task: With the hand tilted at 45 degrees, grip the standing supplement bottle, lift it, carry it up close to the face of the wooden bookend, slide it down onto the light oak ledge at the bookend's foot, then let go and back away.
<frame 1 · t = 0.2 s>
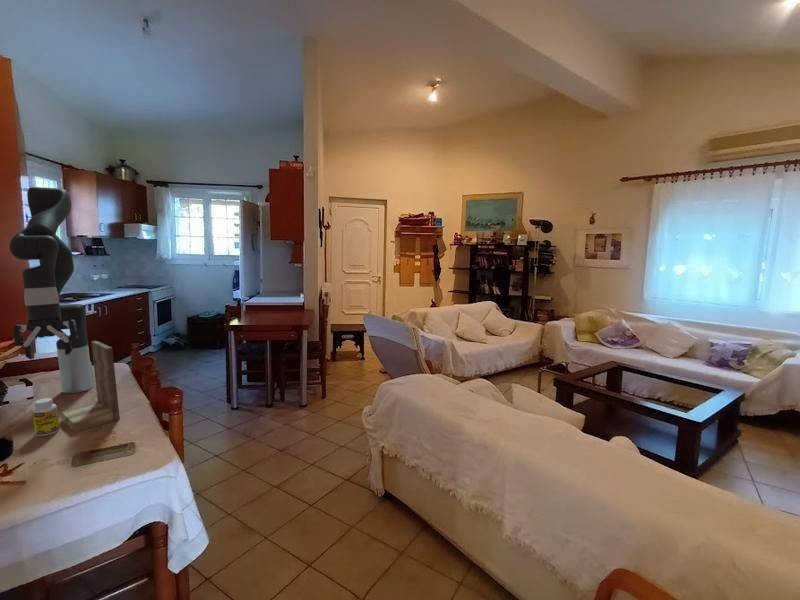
hand: (49, 356, 120), 23 cm above the table, tool pointing down, fingers open, 8 cm apart
supplement bottle: (47, 433, 120), on the table
wooden bookend: (88, 420, 128), on the table
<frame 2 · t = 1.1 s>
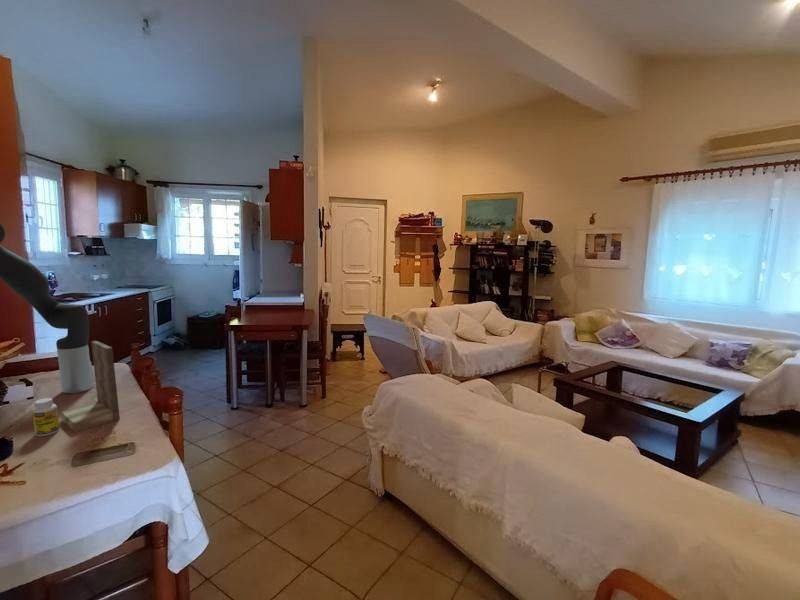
nothing on the table moved.
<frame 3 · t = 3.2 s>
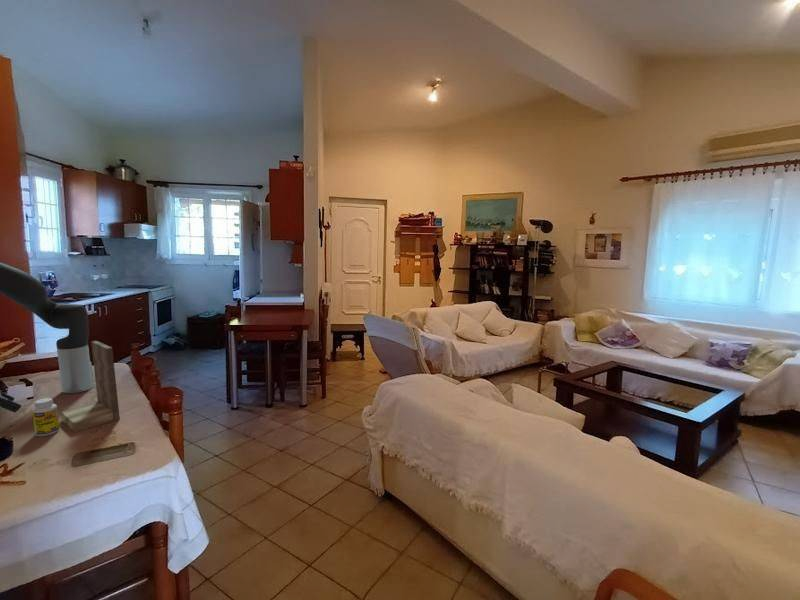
hand: (15, 405, 114), 11 cm above the table, tool tilted 45°, fingers open, 8 cm apart
nothing on the table moved.
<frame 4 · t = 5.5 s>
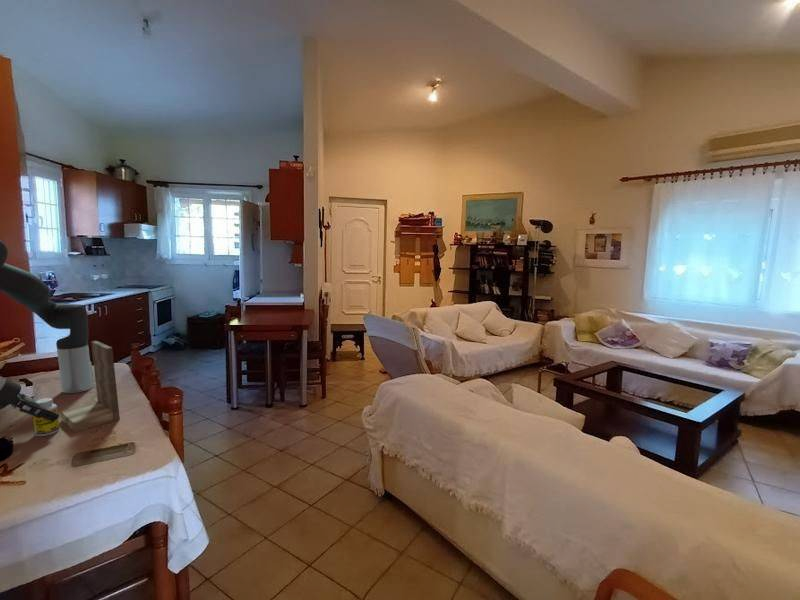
hand: (53, 415, 121), 5 cm above the table, tool tilted 45°, fingers closed on supplement bottle, 5 cm apart
supplement bottle: (47, 433, 120), on the table, touching gripper
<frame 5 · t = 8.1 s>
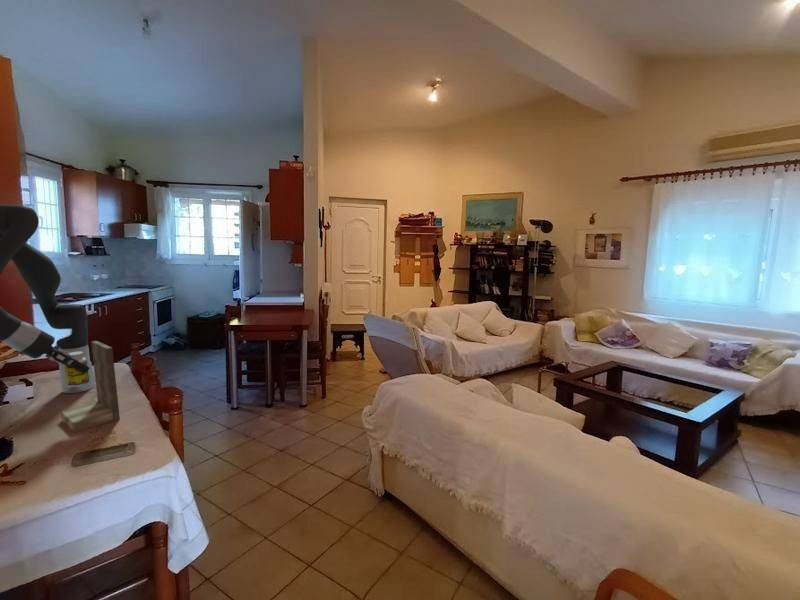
hand: (83, 368, 126), 17 cm above the table, tool tilted 45°, fingers closed on supplement bottle, 5 cm apart
supplement bottle: (78, 385, 126), point 12 cm above the table, touching gripper
when the fingers open (9 cm above the table, at t = 10.9 s): supplement bottle drops 1 cm, resting on wooden bookend.
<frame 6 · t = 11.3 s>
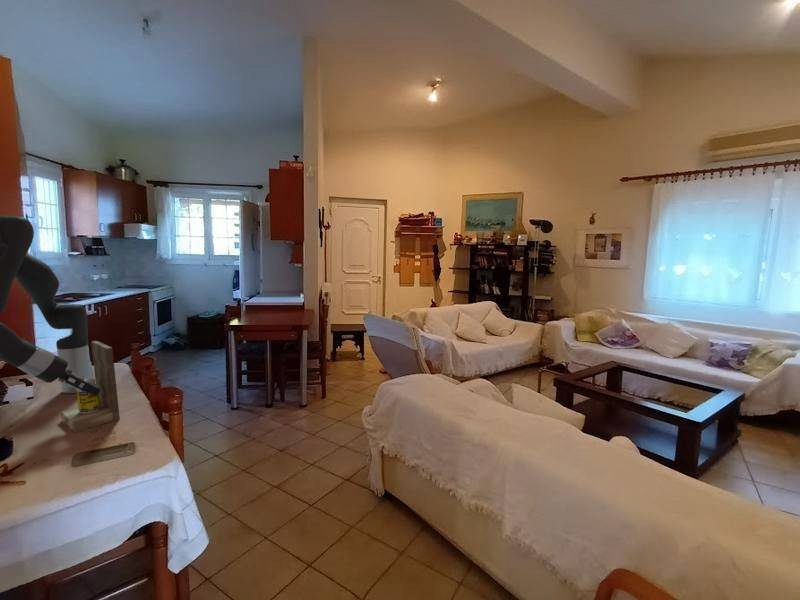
hand: (93, 389, 129), 10 cm above the table, tool tilted 45°, fingers open, 8 cm apart
supplement bottle: (89, 411, 129), point 3 cm above the table, touching wooden bookend
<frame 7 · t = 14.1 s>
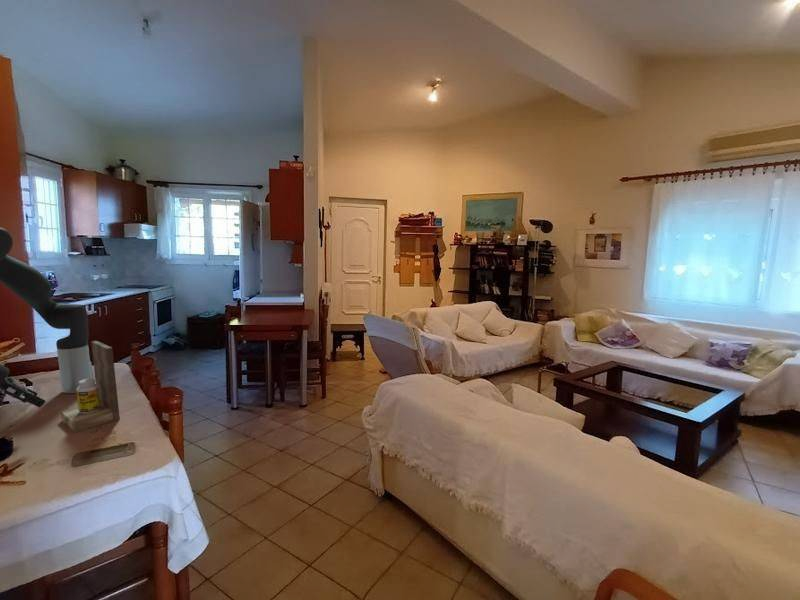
hand: (38, 400, 119), 10 cm above the table, tool tilted 45°, fingers open, 8 cm apart
nothing on the table moved.
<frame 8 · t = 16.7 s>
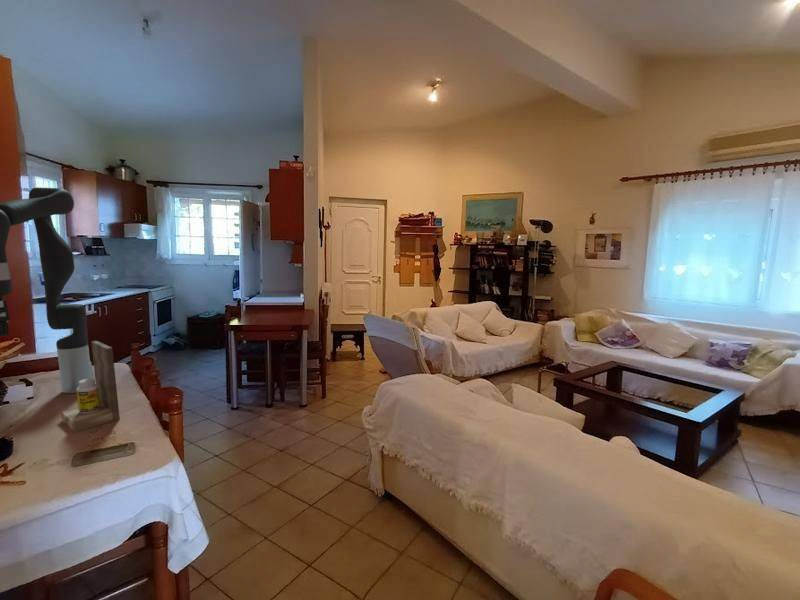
hand: (0, 333, 118), 30 cm above the table, tool pointing down, fingers open, 8 cm apart
nothing on the table moved.
at the end: supplement bottle inside the target area on the wooden bookend (0.2 cm from its centre), point 2.8 cm above the wooden bookend's base; supplement bottle tilted 0°; the gripper is holding nothing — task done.
